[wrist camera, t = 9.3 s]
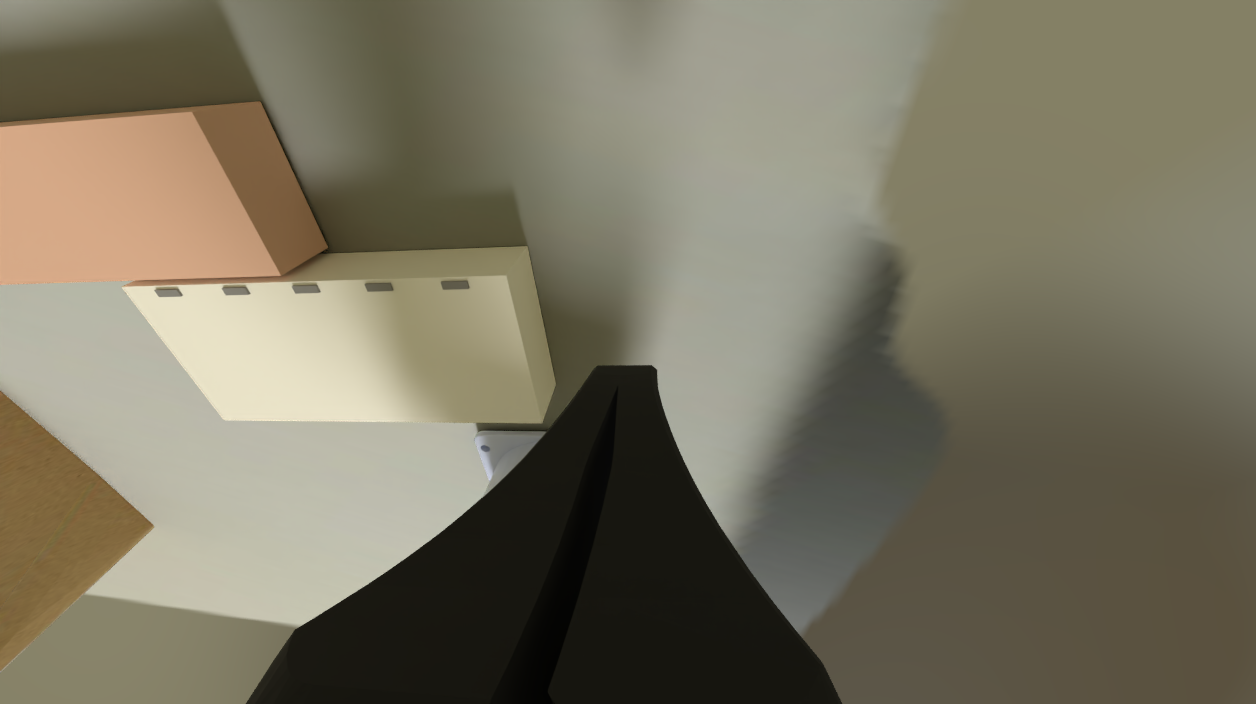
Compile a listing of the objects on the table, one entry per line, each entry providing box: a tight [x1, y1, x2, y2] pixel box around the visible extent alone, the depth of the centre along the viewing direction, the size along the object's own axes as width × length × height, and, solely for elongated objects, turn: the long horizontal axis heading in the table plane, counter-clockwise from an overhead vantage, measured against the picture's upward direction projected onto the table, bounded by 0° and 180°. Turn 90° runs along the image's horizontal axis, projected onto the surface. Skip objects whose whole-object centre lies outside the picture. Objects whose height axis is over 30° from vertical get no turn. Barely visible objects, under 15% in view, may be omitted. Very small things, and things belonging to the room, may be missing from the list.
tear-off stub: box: [0, 101, 328, 285], centre depth 18 cm, size 6×16×3 cm, turn 94°
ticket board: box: [122, 246, 556, 423], centre depth 20 cm, size 7×16×3 cm, turn 94°
